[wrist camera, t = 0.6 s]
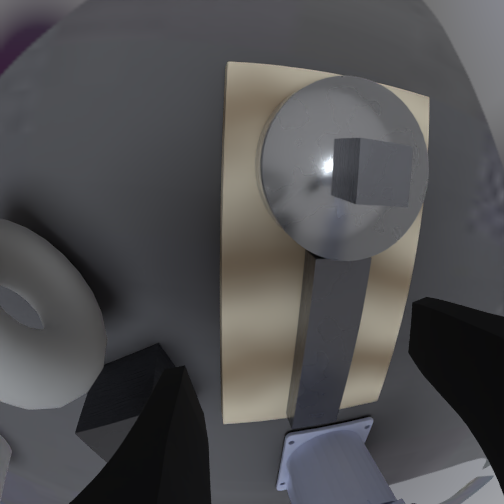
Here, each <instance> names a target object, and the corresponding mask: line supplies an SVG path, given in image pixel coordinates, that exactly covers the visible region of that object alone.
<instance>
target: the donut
mask: <svg viewBox="0 0 504 504" xmlns="http://www.w3.org/2000/svg"><path fill="white" fill-rule="evenodd" d="M0 286H4V287H7V288H9V289H11V290H12V291H14V292H16V293H18V294H19V295H20V296H22V297H23V298H24V299H25V300H27V301H28V302H29V304H30V305H31V306H32V307H33V308H34V309H35V310H36V312H37V313H38V315H39V317H40V319H41V322H42V325H43V328H44V329H43V330H41V329H34V328H29V327H27V326H25V325H23V324H20V323H19V322H17V321H16V320H15V319H13V318H12V317H11V316H10V315H8V314H7V313H6V312H5V311H4V310H3V309H2V308H1V306H0V401H1V402H4V403H7V404H10V405H14V406H17V407H20V408H24V409H29V410H32V409H49V408H60V407H62V406H64V405H66V404H68V403H70V402H71V401H73V400H75V399H77V398H79V397H80V396H82V395H84V394H86V393H87V392H88V391H89V389H90V388H91V386H92V385H93V383H94V382H95V380H96V379H97V377H98V375H99V374H100V372H101V371H102V369H103V367H104V360H105V352H106V345H107V335H106V330H105V325H104V320H103V316H102V312H101V310H100V307H99V305H98V303H97V301H96V298H95V296H94V294H93V292H92V290H91V289H90V287H89V286H88V284H87V283H86V281H85V280H84V278H83V277H82V275H81V274H80V272H79V271H78V270H77V269H76V268H75V267H74V266H73V265H72V264H71V262H70V261H69V260H68V259H67V258H66V257H65V256H64V255H63V254H62V253H61V252H60V251H59V250H57V249H56V248H55V247H54V246H53V245H52V244H50V243H49V242H48V241H47V240H46V239H44V238H42V237H41V236H39V235H38V234H36V233H34V232H33V231H31V230H30V229H28V228H26V227H24V226H21V225H19V224H16V223H14V222H11V221H9V220H5V219H0Z"/></svg>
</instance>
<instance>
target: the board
mask: <svg viewBox="0 0 504 504" xmlns="http://www.w3.org/2000/svg"><path fill="white" fill-rule="evenodd" d="M334 76H344V75H338V74H333V73H327V72H321V71H315V70H309V69H302V68H294V67H286V66H278V65H268V64H257V63H244V62H227V65H226V68H225V88H224V111H223V138H222V170H221V217H220V360H221V405H222V418H223V424H232V423H245V422H255V421H265V420H274V419H282V418H287V415H286V410H287V403H288V396H289V389H290V382H291V375H292V367H293V360H294V352H295V344H296V335H297V327H298V318H299V309H300V300H301V290H302V280H303V270H304V259H305V250H306V249H305V248H303V247H302V246H301V245H299V244H298V243H297V242H296V241H294V240H293V239H292V238H291V237H290V236H289V235H288V234H287V233H286V232H285V231H284V230H283V229H281V228H280V227H279V226H278V225H277V223H276V222H275V221H274V220H273V219H272V217H271V216H270V214H269V213H268V211H267V209H266V208H265V206H264V203H263V201H262V199H261V197H260V194H259V190H258V187H257V182H256V176H255V155H256V148H257V143H258V139H259V136H260V134H261V131H262V129H263V126H264V125H265V123H266V121H267V119H268V117H269V116H270V115H271V113H272V112H273V111H274V109H275V108H276V107H277V106H278V105H279V104H280V103H281V102H282V101H283V100H284V99H286V98H287V97H288V96H290V95H291V94H293V93H294V92H296V91H298V90H300V89H302V88H304V87H306V86H308V85H310V84H312V83H314V82H316V81H318V80H321V79H324V78H328V77H334ZM378 84H380V83H378ZM380 85H382V86H384V87H385V88H387V89H389V90H390V91H392V92H393V93H394V94H395V95H396V96H398V97H399V98H400V99H401V100H402V101H403V102H404V103H405V105H406V106H407V107H408V108H409V110H410V111H411V112H412V114H413V115H414V117H415V119H416V120H417V122H418V124H419V126H420V129H421V131H422V133H423V136H424V139H425V143H426V147H427V152H428V137H429V97H427V96H423V95H420V94H417V93H413V92H410V91H406V90H403V89H399V88H396V87H392V86H388V85H384V84H380ZM422 209H423V204H422V207H421V210H420V212H419V214H418V215H417V217H416V219H415V221H414V222H413V224H412V225H411V227H410V228H409V229H408V231H407V232H406V233H405V234H404V235H403V236H402V237H401V238H400V239H399V240H398V241H397V242H396V243H395V244H393V245H392V246H391V247H389V248H388V249H386V250H385V251H383V252H381V253H379V254H377V255H374V256H372V257H371V258H372V259H371V266H370V272H369V278H368V284H367V290H366V296H365V301H364V306H363V312H362V317H361V322H360V327H359V331H358V336H357V341H356V345H355V350H354V354H353V358H352V362H351V366H350V371H349V375H348V378H347V382H346V386H345V390H344V394H343V397H342V401H341V405H340V408H339V409H342V408H347V407H352V406H357V405H361V404H366V403H370V402H374V401H377V400H378V397H379V394H380V392H381V389H382V386H383V383H384V380H385V376H386V373H387V370H388V367H389V364H390V360H391V357H392V354H393V350H394V347H395V343H396V340H397V336H398V332H399V329H400V325H401V321H402V317H403V313H404V309H405V304H406V300H407V296H408V291H409V286H410V282H411V277H412V272H413V267H414V261H415V256H416V250H417V244H418V238H419V231H420V224H421V217H422Z"/></svg>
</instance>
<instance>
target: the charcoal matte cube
mask: <svg viewBox="0 0 504 504" xmlns="http://www.w3.org/2000/svg"><path fill="white" fill-rule="evenodd" d="M169 368H175V366H174V364H173V363H172V362H171V360H170V359H169V357H168V356H167V354H166V353H165V352H164V350H163V349H162V347H161V346H160V344H159V343H158V344H155V345H153V346H151V347H148V348H146V349H143V350H141V351H138V352H136V353H133V354H131V355H128V356H126V357H124V358H121V359H119V360H116V361H113V362H111V363H108V364H106V365H104V367H103V369H102V371H101V372H100V374H99V375H98V377H97V379H96V380H95V382H94V383H93V385H92V386H91V388H90V389H89V391H88V394H87V397H86V400H85V403H84V406H83V409H82V412H81V415H80V419H79V422H78V425H77V428H76V432H75V434H76V435H77V436H78V437H79V438H80V439H81V440H82V441H84V442H85V443H86V444H87V445H88V446H89V447H90V448H91V449H92V450H93V451H94V452H96V453H97V454H98V455H99V456H100V457H101V458H102V459H104V460H105V461H106V462H107V463H108V461H109V460H110V459H111V457H112V456H113V455H114V453H115V452H116V451H117V449H118V448H119V446H120V445H121V443H122V442H123V440H124V439H125V437H126V436H127V434H128V433H129V431H130V430H131V428H132V426H133V425H134V423H135V422H136V420H137V418H138V416H139V415H140V413H141V411H142V409H143V408H144V406H145V404H146V402H147V400H148V399H149V397H150V395H151V393H152V391H153V389H154V387H155V385H156V384H157V382H158V380H159V378H160V376H161V374H162V372H163V371H164V369H169Z"/></svg>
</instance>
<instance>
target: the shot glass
mask: <svg viewBox="0 0 504 504" xmlns="http://www.w3.org/2000/svg"><path fill="white" fill-rule="evenodd" d="M11 454H12V450H11V447H10V445H9V444H8V443H7V441H6V440H5V439H4V438H3V437H2V436H1V435H0V501H1V496H2V491H3V487H4V482H5V478H6V474H7V470H8V466H9V462H10V458H11Z"/></svg>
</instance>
